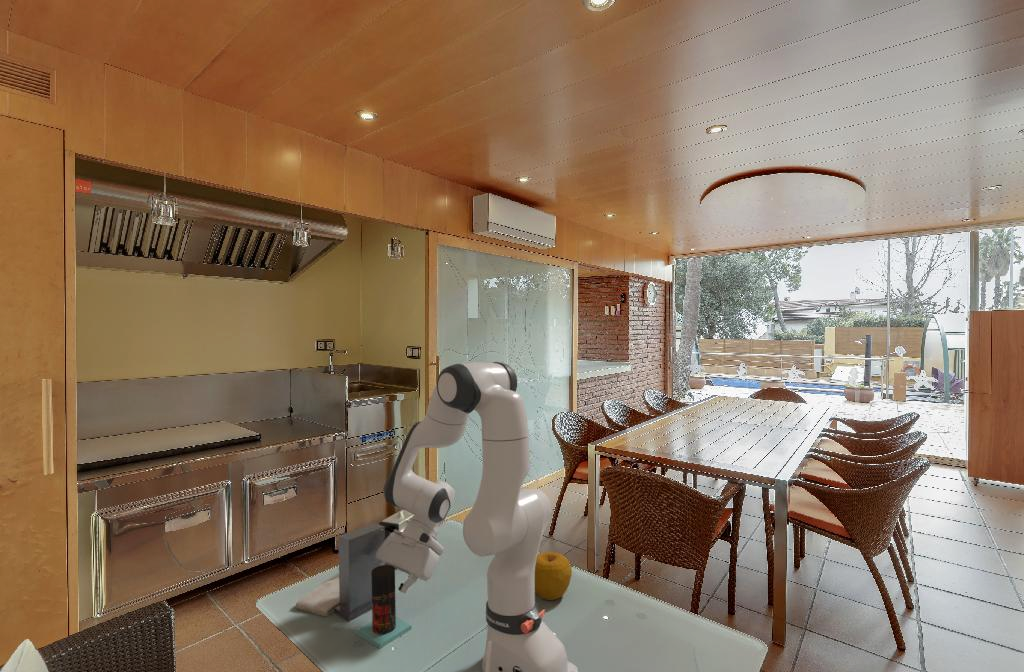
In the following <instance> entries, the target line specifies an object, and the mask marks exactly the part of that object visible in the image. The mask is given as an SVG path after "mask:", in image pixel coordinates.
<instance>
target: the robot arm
mask: <svg viewBox="0 0 1024 672" xmlns="http://www.w3.org/2000/svg"><path fill="white" fill-rule="evenodd" d="M517 388H518V376H517V374H516V372H515V370H514V369H513V368H512V367H511V366H510V365H509V364H508V363H507V364H506V363H504V362H499V361H493V362H488V361H486V362H483V361H482V362H481V361H470V362H464V363H455V364H452V365H449V366H447V367H445V368H443V369H442V370H441V371H440V372H439V374H438V377H437V380H436V384H435V385H434V388H433V390H432V393H431V396H430V398H429V402H428V404H427V405H428V406H427V409H426V413H425V415H424V417H423V419H422V421H418V422H415V423H414V425H412V427H411V428H410V429H409V431H408V433H407V435H406V437H405V440H404V442H403V444H402V446H401V448H400V451H399V452H398V456H397V458H396V460H395V462H394V466H393V467H392V470H391V471H390V474H389V475H388V476H387V479H386V480H385V482H384V486H383V487H382V488H383V489H382V490H383V496H384V499H385V502H386V503H387V504H388V505H391V506H394V507H396V508H400V509H401V510H403V509H404V510H406V511H408V512H410V513H412V514H414V515H413V516H412V517H411V519H410V520H409V522H408V524H407V525H406V527H405V529H404V531H403V532H401V531H399V530H396V531H395V532H393V533H391V534H390V536H388V537H387V538H386V540H385V541H384V542H383V544H382V545H381V546H380V548H379V549H378V551H377V552H376V559H378V560H379V561H380V562H382V563H381V564H380V566H382V565H391V566H393V567H395V570H398V571H400V572H403V573H405V574H408V576H407V578H408V579H406V580H405V582H403V583H402V582H401V583H400V586H398V588H397V589H398V591H399V592H400V593H403V594H406V593H407V591H408V590H409V588H410V587H411V586H413V585H414V584H415V583H416V582H417V580H418V579H419V580H422V581H424V582H427V581H429V580H430V579H431V578H432V576H433V575H434V572H435V570H436V569H437V566H438V564H439V562H440V556H442V554H443V553H444V551H445V548H444V547H443V545H442V544H440V542H438V540H437V538H436V537H437V534H438V533H439V530H440V529H439V528H440V527H441V526H442V524H443V523H444V522H445V520H446V519H447V517H448V515H449V513H450V510H451V508H452V505H453V503H454V500H455V497H456V492H455V490H454V487H452V486H451V485H450V484H449V483H447V482H446V481H444V480H436V481H434V482H433V481H430V480H428V479H427V478H424V477H422V476H419V475H417V474H416V473H415V472H414V471H413V469H412V468H413V466H414V464H415V461H416V458H417V457H418V454H419V452H420V450H421V449H423V448H424V449H425V448H427V449H428V448H429V449H430V448H432V449H434V448H435V449H442V448H447V447H449V446H450V447H451V446H452V445H455V444H456V443H457V442H459V441H460V440H461V438H462V437H463V435H464V433H465V431H466V428H467V423H468V419H469V414H470V413H472V412H473V411H475V412H476V413H477V414H478V415H479V418H480V422H481V447H482V448H481V449H482V451H481V452H482V453H481V454H482V472H481V480H480V484H479V488H478V491H477V495H476V498H475V501H474V503H473V506H472V507H471V509H470V511H469V513H468V514H467V515H466V516H465V517H464V520H463V524H462V535H463V536H462V537H463V539H464V543H465V545H466V546H467V548H468V549H469V550H470V551H471V552H472V553H473V554H474V555H475V556H478V557H482V558H485V557H488V556H493V557H492V560H491V561H490V563H489V565H488V567H487V572H486V577H487V578H486V580H487V582H486V583H487V584H486V585H487V601H486V603H485V620H486V621H485V622H486V624H487V629H486V630H487V632H486V642H485V649H484V654H483V658H482V660H481V668H482V671H484V672H579V669H578V667H577V666H576V665H575V664H574V663H572V662H570V661H569V660H568V655H567V651H566V647H565V644H563V642H562V641H561V640H560V639H559V638H558V636H557V634H556V633H555V632H554V631H552V630H551V629H550V628H549V627H548V626H547V624H546V623H545V622H544V621H543V617H544V616H545V614H546V612H545V611H546V609H542V610H541V611H540V608H539V605H538V602H537V600H536V592H535V565H536V560H537V555H538V554H539V550H540V546H541V542H542V539H543V535H544V532H545V530H546V527H547V526H548V524H549V522H550V520H551V518H552V514H553V507H552V504H551V501H550V498H549V497H548V496H547V494H546V493H545V492H543V490H540V489H539V488H537V487H536V488H535V487H531V488H527V487H526V488H522V487H523V483H524V481H525V479H526V478H527V476H528V475H529V472H530V470H531V458H530V457H531V455H530V438H529V425H528V419H527V412H526V409H525V404H524V400H523V398H522V396H521V395H520V394H519V393H518V392H517ZM395 533H396V534H395Z"/></svg>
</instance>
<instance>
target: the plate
mask: <svg viewBox="0 0 1024 672" xmlns="http://www.w3.org/2000/svg"><path fill="white" fill-rule="evenodd" d="M412 627H413V626H412V624H410V623H408V622H406V621H404V620H403V619H401V618H398V617H397V616H396V628H395V629H394V630H393V631H392V632H390V633H388V634H384V635H378V634H375V633H374V632H373V630H372V621H370V622H368V623H366V624H364V625H363V626H361V627H360V628H358V629H356V631H355V632H356V635H358V637H360V638H362V639H363V640H366V641H367V642H369V643H370V644H372V645H374V646H375V647H377V648H378V649H381V648H383V647H386V646H387V645H388V644H390V643H391V642H393V641H394V640H396V639H398V638H399V637H401V636H403V635H404V634H406V633H408V632H410V631H411V630H412Z"/></svg>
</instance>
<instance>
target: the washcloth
mask: <svg viewBox="0 0 1024 672" xmlns="http://www.w3.org/2000/svg"><path fill="white" fill-rule="evenodd" d="M339 605H340V598H339V575H338V576H336V577H334V578H333V579H331V580H328V581H324V582H323V583H322V584H320V585H319V586H318V587H316V588H314V589H312V590H311V591H310V592H308V593H307V594H306V595H303V596H302V597H300V598H299V599H298V600H297V601H296V603H295V606H294V607H295V608H296V609H297V610H299V609H300V611H303V610H304V611H303V612H310V613H312V612H313V613H312V614H314V613H315V614H314V615H319V616H322V617H328V616H330V615H331V614H333V613H335V610H334V608H335V607H337V606H339ZM332 612H333V613H332ZM329 614H330V615H329Z"/></svg>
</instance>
